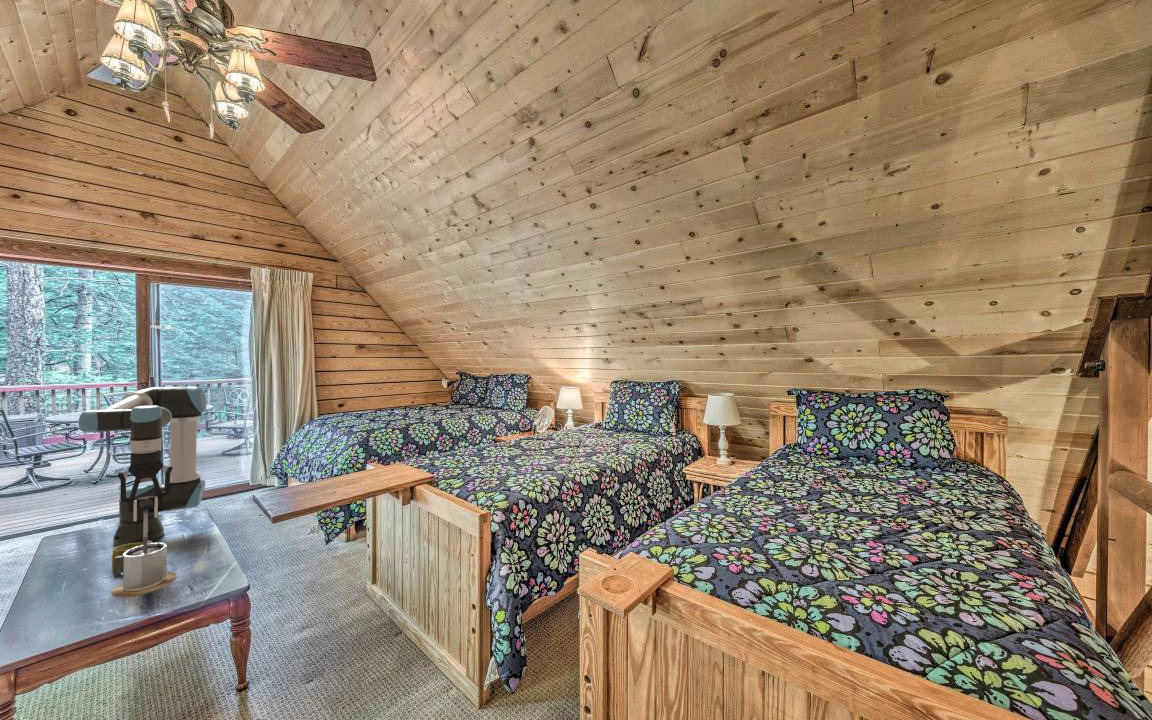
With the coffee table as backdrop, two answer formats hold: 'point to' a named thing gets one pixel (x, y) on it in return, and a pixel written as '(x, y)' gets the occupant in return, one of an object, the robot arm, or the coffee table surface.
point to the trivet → (120, 593)
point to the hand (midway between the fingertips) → (145, 517)
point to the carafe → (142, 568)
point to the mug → (121, 549)
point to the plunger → (145, 524)
